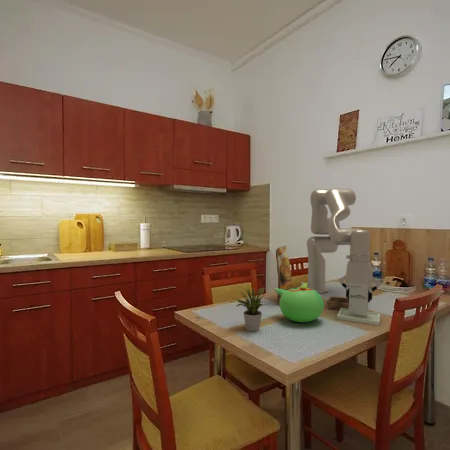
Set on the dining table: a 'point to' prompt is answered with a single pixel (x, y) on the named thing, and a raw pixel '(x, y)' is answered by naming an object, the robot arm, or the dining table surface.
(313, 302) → the round teapot
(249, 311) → the house plant
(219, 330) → the dining table surface
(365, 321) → the tray
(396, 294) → the dining table surface
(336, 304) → the caddy
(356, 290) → the supplement box
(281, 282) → the pancake mix bag
